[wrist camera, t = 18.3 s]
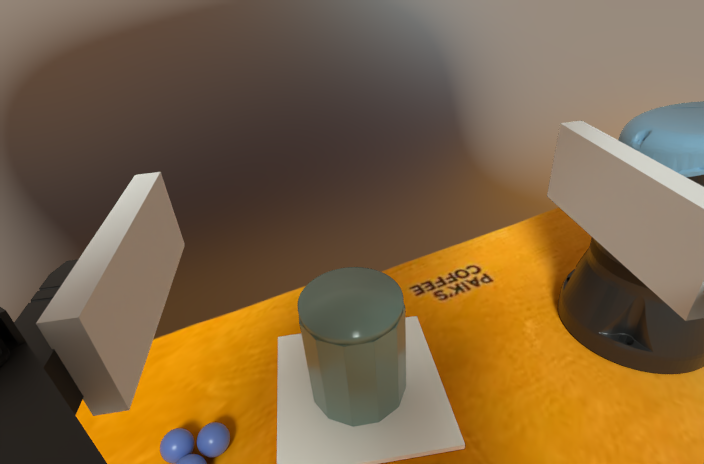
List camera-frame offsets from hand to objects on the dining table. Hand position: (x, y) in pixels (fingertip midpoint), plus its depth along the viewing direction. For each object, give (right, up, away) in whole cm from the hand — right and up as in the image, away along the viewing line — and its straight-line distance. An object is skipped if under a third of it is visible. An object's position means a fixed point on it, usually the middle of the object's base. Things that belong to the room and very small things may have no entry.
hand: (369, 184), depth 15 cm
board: (0, -17, +29) cm, 34 cm away
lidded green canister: (0, -17, +29) cm, 33 cm away
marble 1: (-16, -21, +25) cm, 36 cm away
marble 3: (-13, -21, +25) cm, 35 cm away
